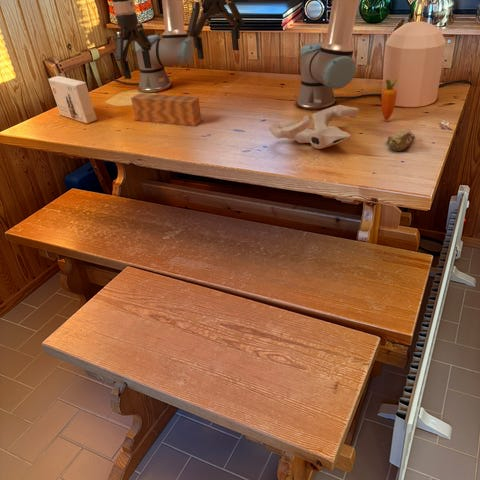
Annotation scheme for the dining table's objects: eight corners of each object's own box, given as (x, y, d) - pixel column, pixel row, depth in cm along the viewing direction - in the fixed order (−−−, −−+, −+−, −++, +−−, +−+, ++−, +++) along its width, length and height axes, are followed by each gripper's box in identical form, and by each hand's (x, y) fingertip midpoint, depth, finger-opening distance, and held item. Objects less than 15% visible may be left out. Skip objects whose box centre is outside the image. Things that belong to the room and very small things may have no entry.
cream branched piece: (267, 156, 148) (265, 121, 142) (278, 128, 170) (277, 96, 163) (357, 157, 142) (360, 119, 136) (357, 127, 164) (359, 94, 157)
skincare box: (58, 115, 201) (47, 78, 192) (69, 111, 204) (58, 75, 195) (86, 124, 189) (75, 85, 180) (97, 119, 192) (87, 81, 183)
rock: (408, 140, 153) (379, 139, 152) (414, 122, 149) (384, 120, 148) (421, 154, 144) (391, 153, 143) (428, 135, 140) (396, 133, 139)
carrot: (394, 118, 167) (398, 76, 158) (393, 123, 163) (397, 80, 154) (379, 117, 168) (383, 75, 160) (378, 122, 165) (382, 80, 156)
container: (406, 111, 172) (416, 29, 156) (369, 96, 188) (375, 22, 172) (449, 99, 178) (463, 20, 162) (410, 86, 194) (419, 13, 178)
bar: (135, 120, 189) (130, 97, 183) (143, 115, 193) (138, 93, 187) (194, 125, 178) (191, 102, 172) (201, 120, 182) (198, 97, 176)
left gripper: (113, 20, 156) (127, 83, 169) (153, 6, 174) (163, 64, 187) (95, 21, 159) (111, 82, 172) (137, 6, 177) (148, 63, 189)
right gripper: (180, -13, 132) (191, 64, 144) (251, -25, 142) (256, 48, 154) (168, -15, 137) (180, 60, 149) (238, -26, 147) (243, 45, 159)
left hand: (138, 73), depth 179 cm, fingers open, 13 cm apart
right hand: (218, 54), depth 152 cm, fingers open, 13 cm apart
